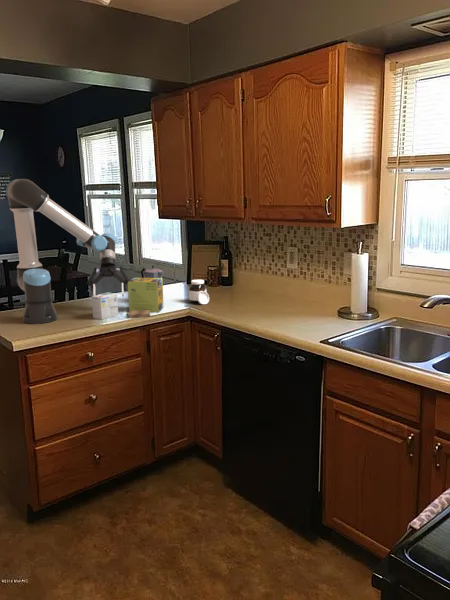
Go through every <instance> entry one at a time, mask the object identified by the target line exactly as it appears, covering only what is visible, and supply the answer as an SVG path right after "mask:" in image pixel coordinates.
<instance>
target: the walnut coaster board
mask: <svg viewBox="0 0 450 600" xmlns="http://www.w3.org/2000/svg"><path fill="white" fill-rule="evenodd" d="M150 317H151V312H150V310H136V311H129V310H128V318H130V319H133V318H134V319H135V318H150Z"/></svg>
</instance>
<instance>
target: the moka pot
mask: <svg viewBox="0 0 450 600" xmlns="http://www.w3.org/2000/svg"><path fill="white" fill-rule="evenodd" d="M155 267H156V266H155V265H151V268H145V267H143V268H142V269H141V270H140V275H141V278H162V279H163V274H164V272H163V270H161V269H159V268H155Z"/></svg>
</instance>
